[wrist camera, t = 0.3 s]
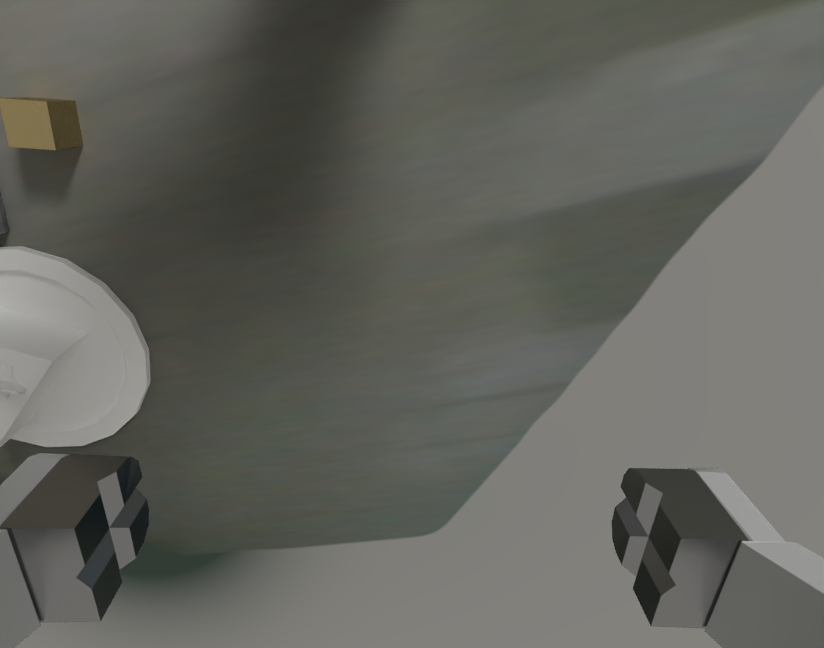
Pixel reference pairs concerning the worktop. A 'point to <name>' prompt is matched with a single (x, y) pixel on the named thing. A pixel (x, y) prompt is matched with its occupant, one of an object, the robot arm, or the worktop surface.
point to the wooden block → (41, 123)
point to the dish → (65, 353)
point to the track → (3, 219)
